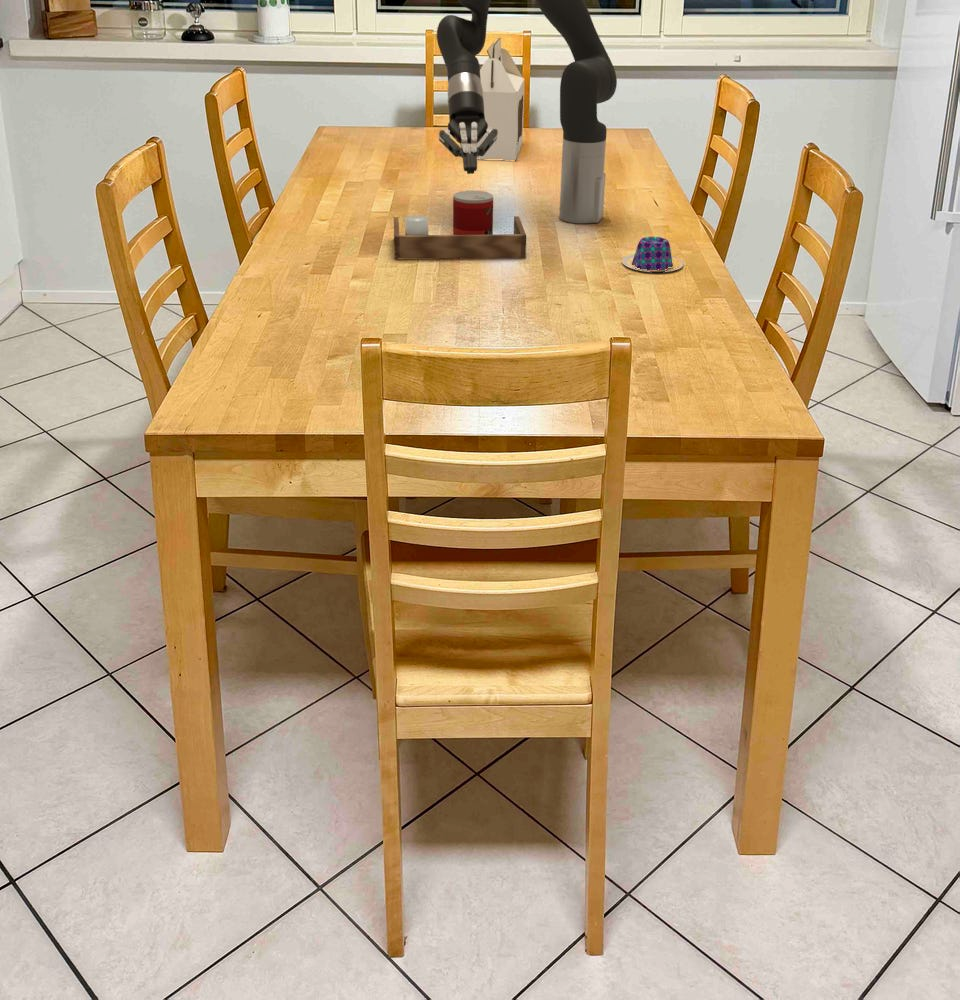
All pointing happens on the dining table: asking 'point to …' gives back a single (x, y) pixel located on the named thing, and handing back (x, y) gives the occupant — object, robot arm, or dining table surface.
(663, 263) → the patterned hat
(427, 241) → the u-shaped frame
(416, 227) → the grey rounded capsule
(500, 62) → the gable box
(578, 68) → the robot arm
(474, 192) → the canned food
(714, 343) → the dining table surface
